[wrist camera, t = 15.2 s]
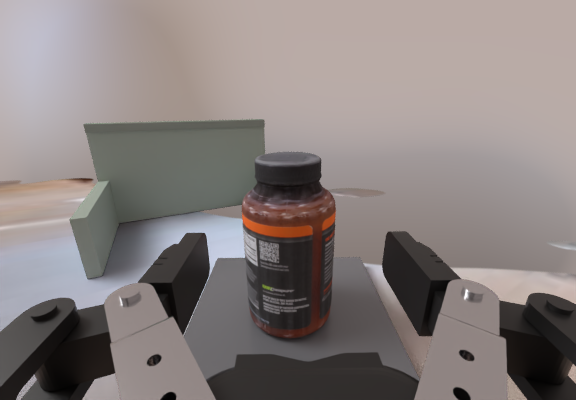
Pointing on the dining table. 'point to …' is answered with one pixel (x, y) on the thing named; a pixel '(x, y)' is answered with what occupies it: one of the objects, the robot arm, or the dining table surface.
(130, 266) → the dining table surface
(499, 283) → the dining table surface
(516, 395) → the dining table surface
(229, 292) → the slate tile
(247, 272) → the supplement bottle
